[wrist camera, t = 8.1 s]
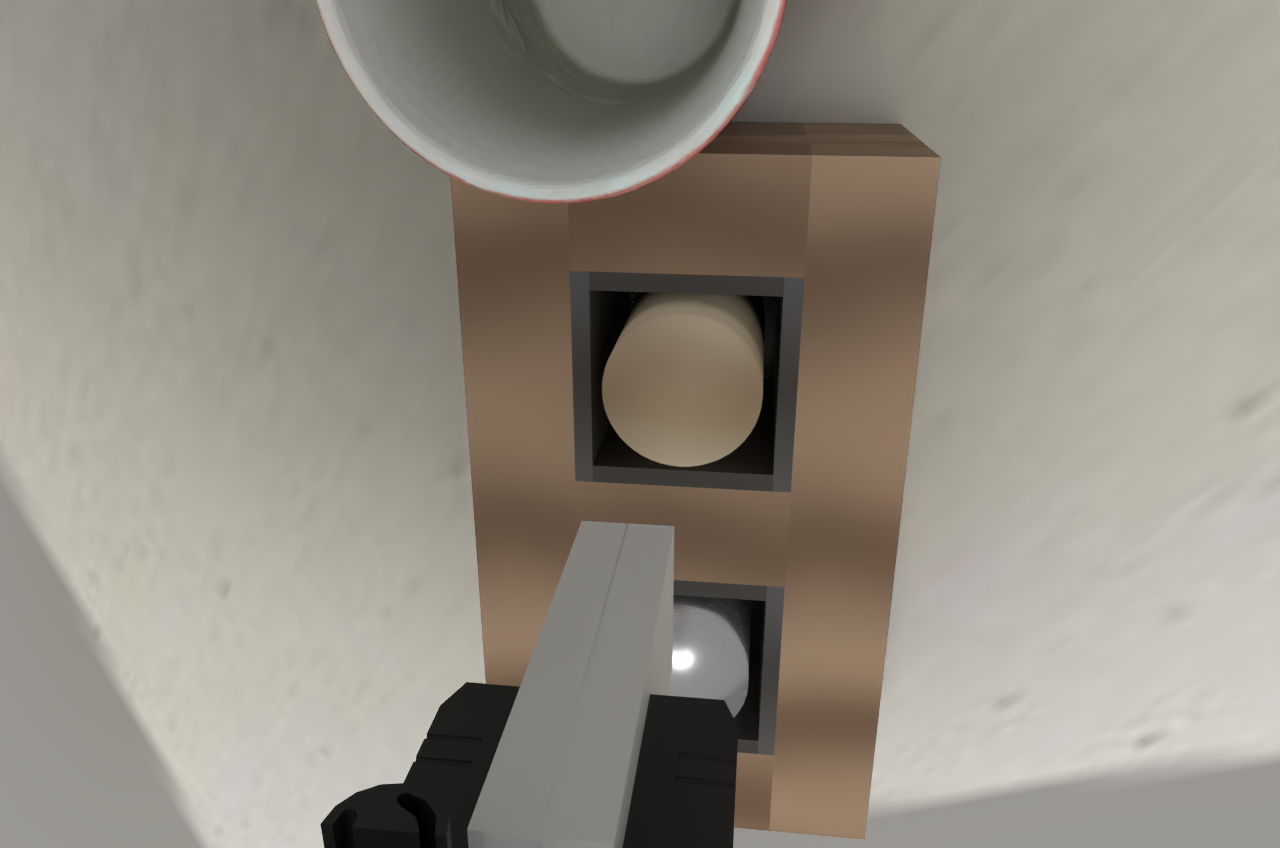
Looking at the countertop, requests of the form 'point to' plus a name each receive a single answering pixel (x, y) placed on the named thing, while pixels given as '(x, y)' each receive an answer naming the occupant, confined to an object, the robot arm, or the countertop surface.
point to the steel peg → (711, 649)
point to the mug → (554, 84)
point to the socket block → (751, 474)
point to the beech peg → (687, 376)
